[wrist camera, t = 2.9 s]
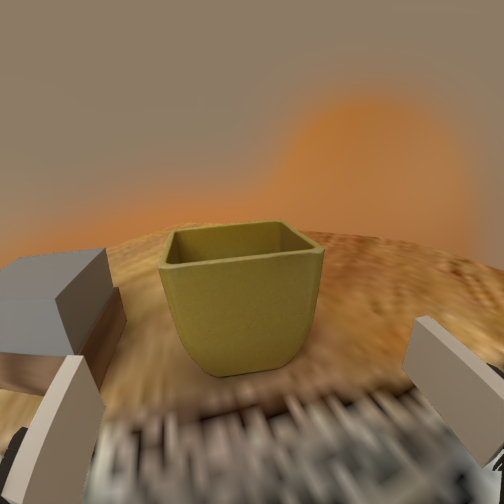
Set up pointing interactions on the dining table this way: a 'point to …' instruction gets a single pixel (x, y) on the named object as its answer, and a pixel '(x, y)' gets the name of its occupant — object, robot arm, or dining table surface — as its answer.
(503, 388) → the robot arm
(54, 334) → the grey top slab
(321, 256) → the flower pot
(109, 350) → the walnut base slab
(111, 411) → the dining table surface
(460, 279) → the dining table surface
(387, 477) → the dining table surface
